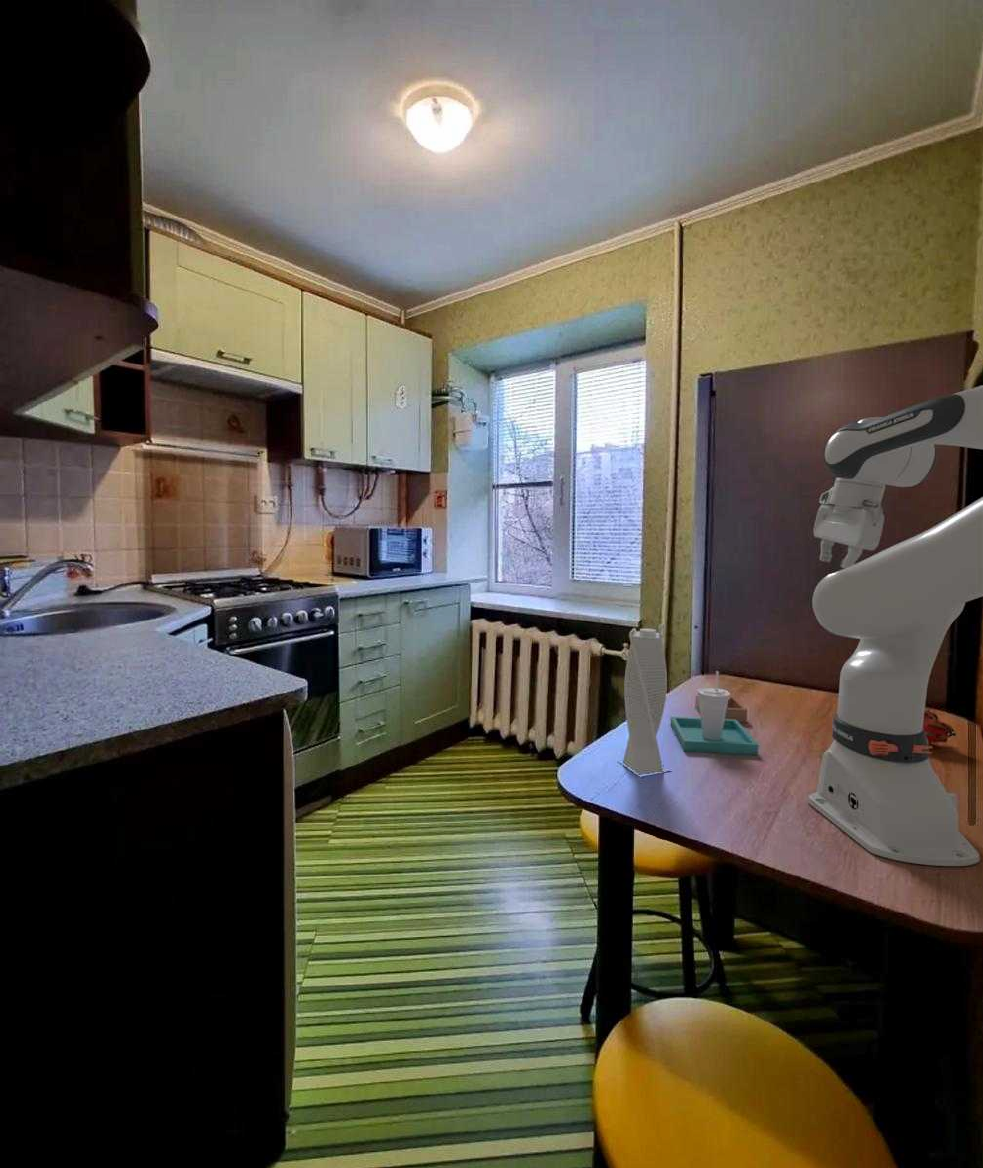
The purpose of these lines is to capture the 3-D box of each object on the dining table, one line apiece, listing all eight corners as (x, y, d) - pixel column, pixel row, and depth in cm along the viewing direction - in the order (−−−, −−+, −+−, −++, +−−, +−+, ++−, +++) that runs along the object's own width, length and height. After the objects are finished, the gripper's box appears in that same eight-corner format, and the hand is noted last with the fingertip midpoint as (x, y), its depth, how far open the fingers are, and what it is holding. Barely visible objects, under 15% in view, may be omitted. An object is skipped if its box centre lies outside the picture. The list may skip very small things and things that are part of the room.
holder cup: (746, 722, 127) (747, 709, 127) (704, 720, 128) (705, 707, 128) (734, 709, 136) (734, 697, 136) (695, 707, 137) (695, 695, 137)
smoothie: (733, 742, 114) (736, 675, 112) (702, 742, 114) (705, 675, 112) (720, 730, 120) (723, 667, 119) (690, 730, 120) (693, 667, 119)
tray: (757, 755, 109) (758, 744, 109) (683, 751, 111) (684, 741, 111) (735, 728, 123) (736, 719, 123) (670, 725, 125) (670, 716, 125)
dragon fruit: (877, 739, 122) (946, 764, 113) (875, 726, 116) (947, 751, 107) (891, 705, 123) (960, 727, 115) (889, 690, 118) (962, 712, 109)
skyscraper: (676, 776, 101) (683, 623, 98) (639, 783, 98) (645, 626, 95) (647, 757, 109) (652, 615, 106) (612, 764, 106) (616, 618, 103)
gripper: (901, 505, 104) (877, 576, 107) (846, 499, 124) (827, 560, 127) (866, 499, 105) (844, 570, 108) (817, 494, 125) (799, 555, 128)
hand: (834, 564), depth 118 cm, fingers open, 8 cm apart
